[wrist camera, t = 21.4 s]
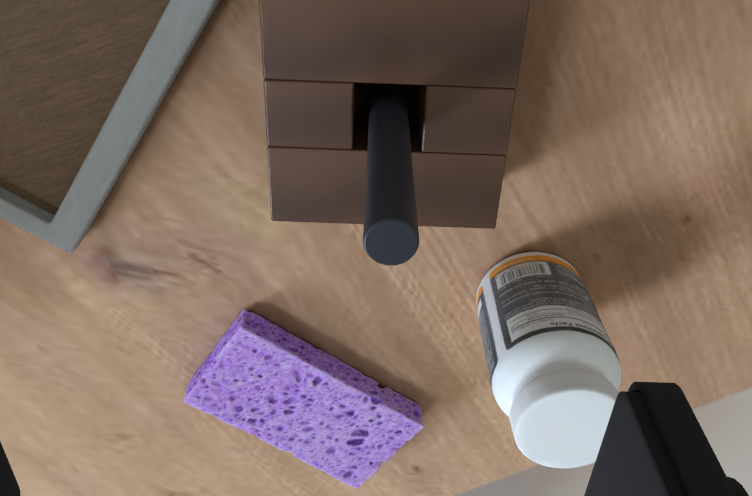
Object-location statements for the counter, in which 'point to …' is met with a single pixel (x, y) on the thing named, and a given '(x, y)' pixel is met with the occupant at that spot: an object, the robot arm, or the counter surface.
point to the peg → (389, 180)
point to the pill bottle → (548, 358)
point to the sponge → (302, 400)
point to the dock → (389, 66)
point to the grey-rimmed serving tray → (81, 101)
